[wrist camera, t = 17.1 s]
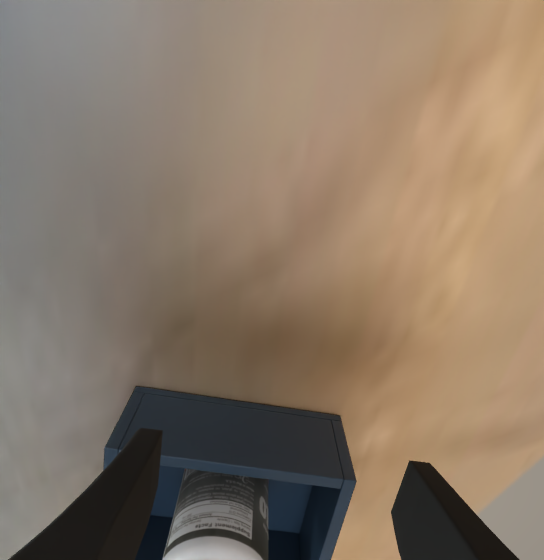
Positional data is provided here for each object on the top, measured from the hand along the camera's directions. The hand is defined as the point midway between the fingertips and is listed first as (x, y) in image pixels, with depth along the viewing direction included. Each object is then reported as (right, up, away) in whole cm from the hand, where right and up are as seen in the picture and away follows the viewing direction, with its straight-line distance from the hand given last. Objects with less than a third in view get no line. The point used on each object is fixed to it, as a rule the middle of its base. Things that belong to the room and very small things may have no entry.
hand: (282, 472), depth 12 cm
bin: (-3, -5, +12) cm, 13 cm away
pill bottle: (-3, -5, +12) cm, 13 cm away
